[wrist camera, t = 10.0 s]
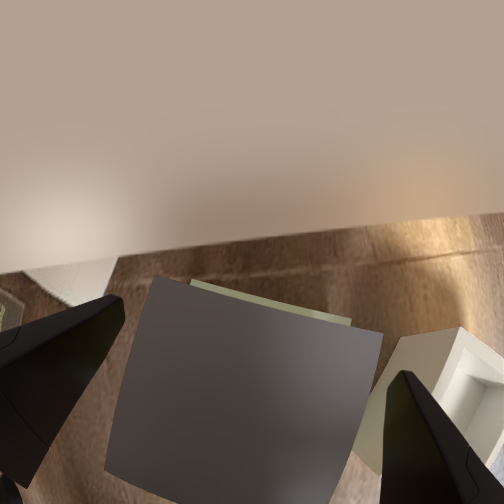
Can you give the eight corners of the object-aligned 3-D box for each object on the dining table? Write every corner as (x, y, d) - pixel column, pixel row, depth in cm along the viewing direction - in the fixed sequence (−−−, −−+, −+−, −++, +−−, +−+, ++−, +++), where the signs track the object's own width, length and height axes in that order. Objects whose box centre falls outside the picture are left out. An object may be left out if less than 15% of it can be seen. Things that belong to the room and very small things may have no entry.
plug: (281, 422, 13) (314, 531, 3) (200, 400, 13) (104, 469, 4) (304, 344, 14) (383, 333, 5) (223, 323, 15) (155, 274, 5)
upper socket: (419, 469, 12) (469, 499, 6) (341, 438, 13) (379, 477, 7) (469, 378, 13) (529, 378, 8) (400, 336, 15) (460, 326, 9)
